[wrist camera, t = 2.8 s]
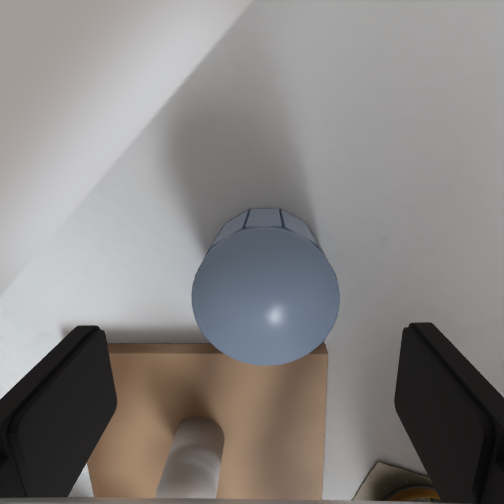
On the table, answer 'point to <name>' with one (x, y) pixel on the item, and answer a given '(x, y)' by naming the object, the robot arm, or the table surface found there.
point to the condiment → (396, 486)
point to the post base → (220, 394)
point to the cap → (265, 289)
